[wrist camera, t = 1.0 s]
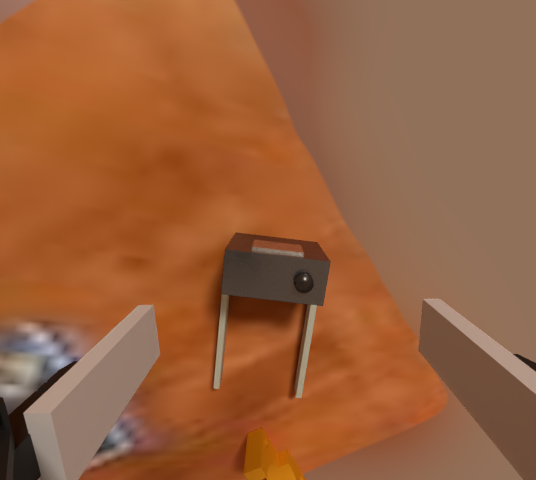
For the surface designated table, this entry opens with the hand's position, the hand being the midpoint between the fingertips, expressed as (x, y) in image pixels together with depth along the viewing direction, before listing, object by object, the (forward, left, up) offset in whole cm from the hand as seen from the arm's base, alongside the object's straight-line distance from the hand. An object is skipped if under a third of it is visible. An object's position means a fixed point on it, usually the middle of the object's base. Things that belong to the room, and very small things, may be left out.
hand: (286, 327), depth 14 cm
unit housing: (0, -3, -25) cm, 25 cm away
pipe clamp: (+4, -37, -25) cm, 45 cm away
